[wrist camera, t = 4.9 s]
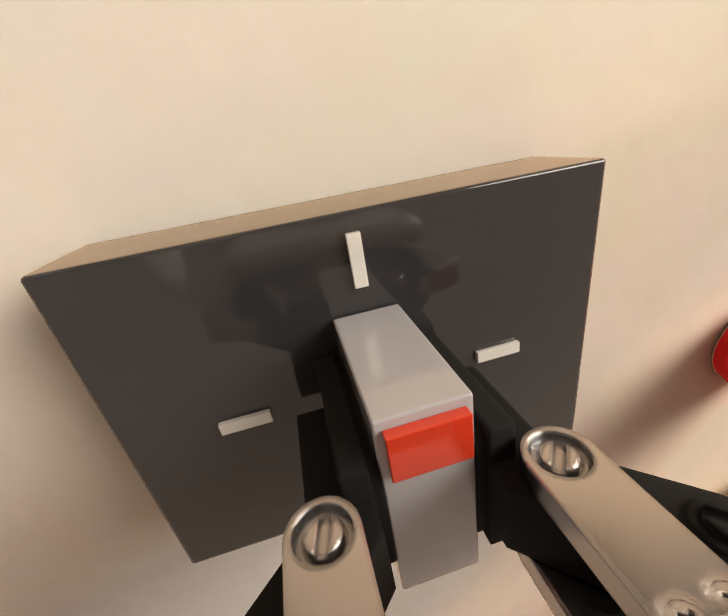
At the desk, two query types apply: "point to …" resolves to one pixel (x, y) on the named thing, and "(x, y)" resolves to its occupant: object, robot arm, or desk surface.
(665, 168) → the desk surface
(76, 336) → the panel
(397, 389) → the light grey rectangular block
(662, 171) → the desk surface
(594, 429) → the desk surface
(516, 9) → the desk surface
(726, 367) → the beverage can
